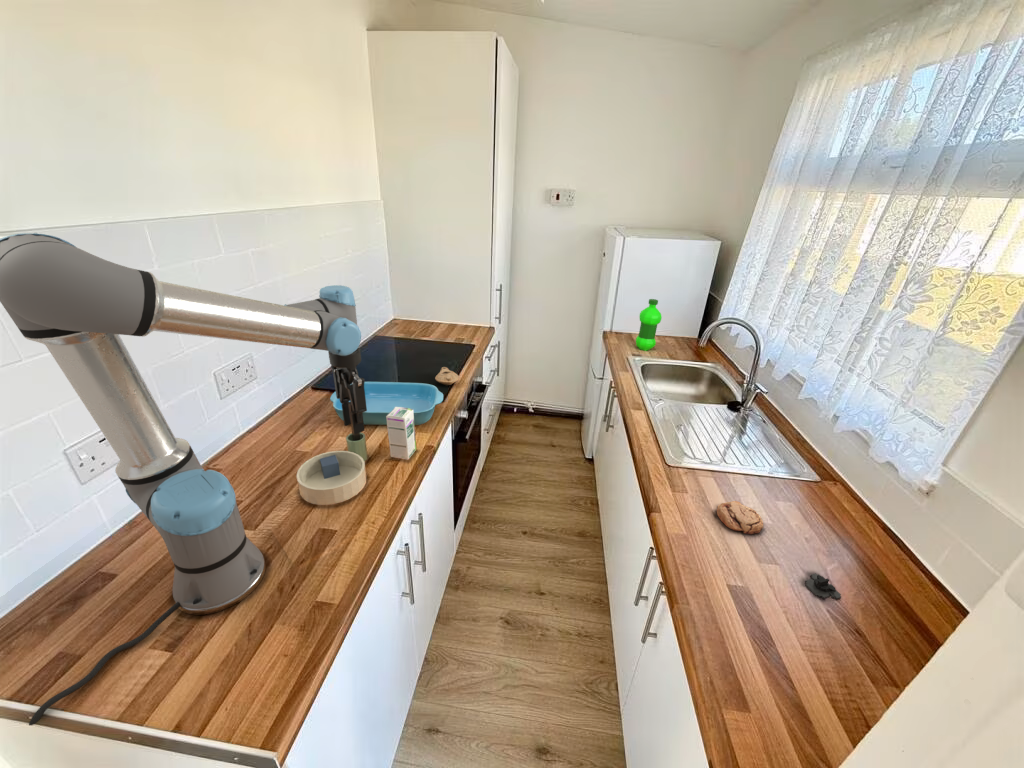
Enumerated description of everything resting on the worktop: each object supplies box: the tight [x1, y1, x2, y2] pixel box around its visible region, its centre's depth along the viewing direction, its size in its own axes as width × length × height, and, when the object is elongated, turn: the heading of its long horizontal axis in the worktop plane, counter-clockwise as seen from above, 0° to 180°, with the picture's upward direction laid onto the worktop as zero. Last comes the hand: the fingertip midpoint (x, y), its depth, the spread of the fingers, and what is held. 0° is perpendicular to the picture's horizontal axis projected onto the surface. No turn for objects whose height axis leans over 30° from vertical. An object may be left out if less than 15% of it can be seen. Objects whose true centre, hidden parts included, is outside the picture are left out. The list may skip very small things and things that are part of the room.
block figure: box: [804, 573, 842, 600], centre depth 91 cm, size 6×2×6 cm
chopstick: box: [348, 402, 361, 441], centre depth 119 cm, size 2×2×18 cm
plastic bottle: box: [635, 298, 663, 351], centre depth 212 cm, size 10×10×25 cm
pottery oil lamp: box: [434, 366, 460, 386], centre depth 171 cm, size 9×12×7 cm
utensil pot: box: [345, 432, 368, 462], centre depth 121 cm, size 5×5×8 cm
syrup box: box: [386, 407, 417, 461], centre depth 123 cm, size 6×6×14 cm
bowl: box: [296, 450, 367, 506], centre depth 112 cm, size 16×16×6 cm
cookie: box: [716, 500, 764, 535], centre depth 108 cm, size 10×11×3 cm
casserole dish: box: [329, 381, 444, 426], centre depth 146 cm, size 37×22×7 cm, turn 94°
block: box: [320, 455, 340, 479], centre depth 115 cm, size 4×4×4 cm
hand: (354, 427), depth 118 cm, fingers open, 5 cm apart
